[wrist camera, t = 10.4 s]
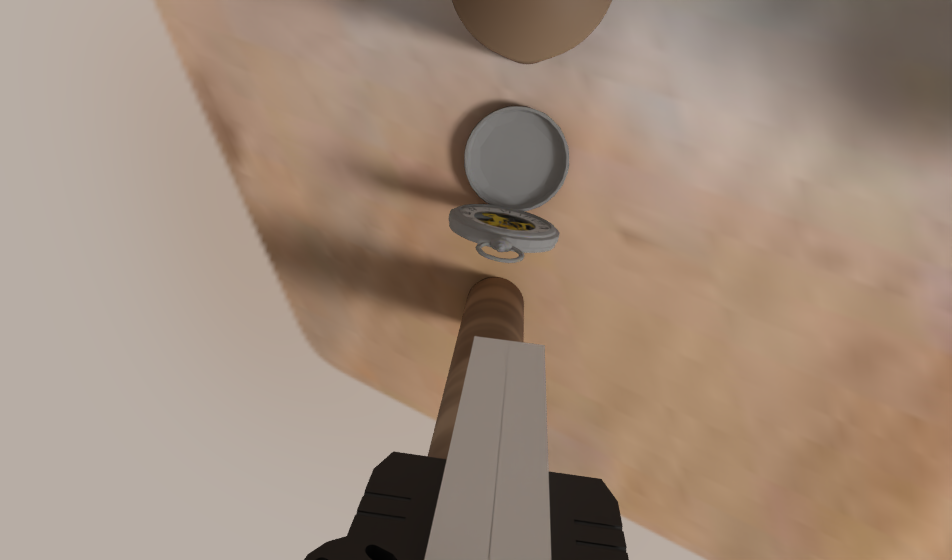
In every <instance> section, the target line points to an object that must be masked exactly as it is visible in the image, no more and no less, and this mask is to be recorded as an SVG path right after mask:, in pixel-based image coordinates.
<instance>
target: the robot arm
mask: <svg viewBox="0 0 952 560" xmlns="http://www.w3.org/2000/svg"><path fill="white" fill-rule="evenodd" d="M304 560H629V559H628V554H627V553H626V543H625V537H624V532H623V531H622V522H621V516H620V511H619V506H618V501H617V500H616V499H615V497H614V496H613V494H612V493H611V492H610V490H609V489H608V488H607V486H606V485H605V483H604V482H603V481H602V479H598V478H591V477H584V476H577V475H569V474H562V473H555V472H549V470H548V439H547V408H546V377H545V345H539V344H531V343H523V342H516V341H508V340H500V339H493V338H485V337H477V336H474V341H473V345H472V350H471V354H470V359H469V363H468V367H467V372H466V376H465V381H464V385H463V390H462V394H461V399H460V403H459V408H458V412H457V416H456V421H455V425H454V430H453V434H452V439H451V443H450V448H449V452H448V457H447V459H442V458H435V457H428V456H420V455H413V454H407V453H400V452H393V453H391V454H390V455H389V456H388V457H387V458H386V459H384V460H383V461H382V462H381V463H380V464H379V465H378V466H376V467H375V468H374V470H373V472H372V475H371V477H370V479H369V482H368V484H367V487H366V489H365V493H364V496H363V497H362V500H361V502H360V504H359V507H358V509H357V514H356V515H355V517H354V520H353V522H352V524H351V527H350V529H349V532H348V535H347V536H346V537H342V538H339V539H335V540H332V541H329V542H326V543H324V544H323V545H321V546H320V547H318V548H317V549H315V550H314V551H312V552H311V553H309V554H308V555H307V556H306V558H305V559H304Z"/></svg>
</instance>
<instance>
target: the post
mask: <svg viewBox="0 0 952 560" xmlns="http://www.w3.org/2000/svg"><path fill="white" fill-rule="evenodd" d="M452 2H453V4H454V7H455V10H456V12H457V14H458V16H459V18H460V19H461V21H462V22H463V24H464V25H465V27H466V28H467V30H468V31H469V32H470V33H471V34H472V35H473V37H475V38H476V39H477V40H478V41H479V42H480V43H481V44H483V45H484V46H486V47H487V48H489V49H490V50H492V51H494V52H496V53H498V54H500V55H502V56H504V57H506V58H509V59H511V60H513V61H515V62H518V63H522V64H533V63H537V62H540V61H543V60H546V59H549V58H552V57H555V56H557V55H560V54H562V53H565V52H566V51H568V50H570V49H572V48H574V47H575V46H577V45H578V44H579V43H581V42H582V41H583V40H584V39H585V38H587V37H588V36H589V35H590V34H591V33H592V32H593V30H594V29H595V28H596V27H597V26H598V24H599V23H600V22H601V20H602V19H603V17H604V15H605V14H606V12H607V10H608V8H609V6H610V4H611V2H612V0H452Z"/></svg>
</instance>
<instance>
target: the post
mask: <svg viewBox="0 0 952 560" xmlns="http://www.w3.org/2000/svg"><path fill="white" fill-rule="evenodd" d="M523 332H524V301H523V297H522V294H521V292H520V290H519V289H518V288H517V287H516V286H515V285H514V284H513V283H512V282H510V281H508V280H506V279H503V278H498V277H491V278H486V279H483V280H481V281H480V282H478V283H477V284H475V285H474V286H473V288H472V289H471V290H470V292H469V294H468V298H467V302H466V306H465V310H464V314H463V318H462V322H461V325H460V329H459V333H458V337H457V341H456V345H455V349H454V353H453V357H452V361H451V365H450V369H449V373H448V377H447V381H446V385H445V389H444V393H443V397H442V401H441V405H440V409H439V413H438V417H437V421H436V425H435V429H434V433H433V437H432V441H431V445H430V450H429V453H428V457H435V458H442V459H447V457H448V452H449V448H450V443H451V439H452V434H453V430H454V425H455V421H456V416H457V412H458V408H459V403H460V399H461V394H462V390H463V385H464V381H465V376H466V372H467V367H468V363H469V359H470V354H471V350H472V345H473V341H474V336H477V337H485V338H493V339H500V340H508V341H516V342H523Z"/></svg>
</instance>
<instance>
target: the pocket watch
mask: <svg viewBox="0 0 952 560" xmlns="http://www.w3.org/2000/svg"><path fill="white" fill-rule="evenodd" d="M464 167H465V171H466V175H467V178H468V180H469V182H470V185H471V186H472V188H473V189H474V190H475V192H476V193H477V194H478V196H479V197H480V198H481V199H483V200H484V201H485V202H486V203H488V204H489V205H488V204H469V205H462V206H459V207H457V208H454V209H452V210H451V211H450V214H449V222H450V223H449V226H450V228H451V230H452V231H453V232H455V233H456V234H458V235H459V236H461V237H463V238H465V239H467V240H470V241H473V242H475V243H478V244H477V246H476V250H477V252H478V253H479V254H480V255H482V256H484V257H486V258H488V259H491V260H494V261H499V262H505V263H515V262H519V261H522V260H523V258H524V253H537V252H545V251H549V250H551V249H553V248H554V246H555V244H556V243H557V241H558V238H559V231H558V230H557V229H556V228H555V227H554V226H553V225H552V224H551V223H550V222H548V221H546V220H544V219H542V218H540V217H538V216H536V215H533V214H530V213H527V212H524V211H528V210H531V209H534V208H537V207H540V206H542V205H543V204H545V203H546V202H548V201H549V200H550V199H551V198H552V197H553V196H555V194H556V193H557V192H558V190H559V189H560V188H561V186H562V185H563V183H564V180H565V178H566V175H567V173H568V168H569V149H568V145H567V142H566V140H565V137H564V135H563V133H562V131H561V129H560V127H559V126H558V125H557V124H556V123H555V122H554V121H553V120H552V119H551V118H550V117H549V116H547V115H546V114H545V113H543V112H540V111H538V110H535V109H532V108H529V107H523V106H508V107H505V108H503V109H500V110H497V111H494V112H492V113H490V114H489V115H488V116H486V117H485V118H484V119H482V120H481V121H480V122H479V123H478V124H477V125H476V127H475V128H474V129H473V131H472V133H471V135H470V137H469V139H468V141H467V145H466V148H465V159H464ZM484 246H488V247H492V248H493V249H495V250H497V251H498V252H508V251H514V252H516V253H518V254H519V257H517V258H513V259H505V258H497V257H495V256H492V255H489V254H486V253H485V252H484V251H483V250H482V249H481V248H482V247H484Z"/></svg>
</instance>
